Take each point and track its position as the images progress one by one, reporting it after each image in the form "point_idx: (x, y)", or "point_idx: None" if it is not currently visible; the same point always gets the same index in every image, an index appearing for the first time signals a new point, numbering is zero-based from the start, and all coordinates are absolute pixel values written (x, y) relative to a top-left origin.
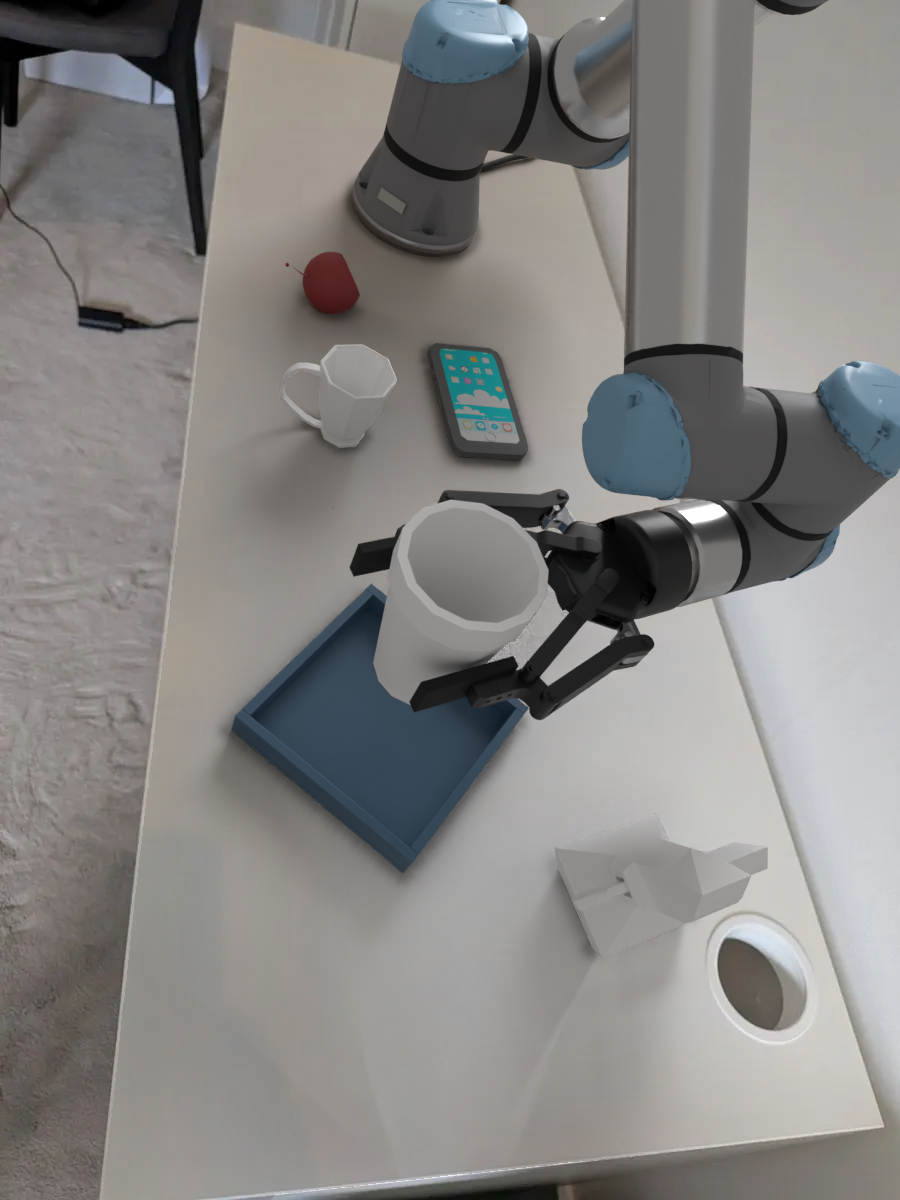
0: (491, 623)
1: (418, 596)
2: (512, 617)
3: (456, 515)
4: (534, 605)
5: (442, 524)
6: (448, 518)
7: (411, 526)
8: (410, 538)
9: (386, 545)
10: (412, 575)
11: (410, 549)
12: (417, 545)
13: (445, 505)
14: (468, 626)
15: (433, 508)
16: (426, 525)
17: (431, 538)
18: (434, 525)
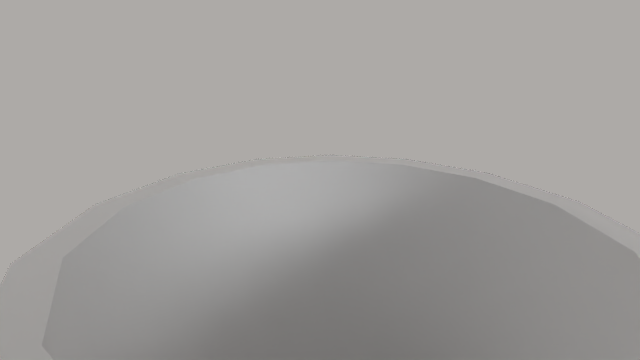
0: (138, 198)
1: (301, 157)
2: (91, 234)
3: (626, 306)
4: (22, 301)
5: (582, 312)
6: (608, 307)
7: (496, 181)
8: (455, 175)
9: None
10: (352, 161)
11: (477, 273)
12: (507, 312)
13: (628, 235)
14: (178, 176)
15: (590, 214)
16: (543, 255)
17: (544, 344)
18: (561, 284)
